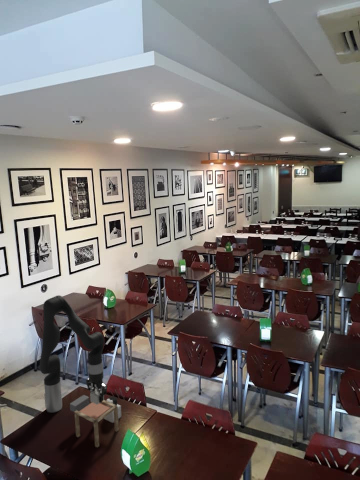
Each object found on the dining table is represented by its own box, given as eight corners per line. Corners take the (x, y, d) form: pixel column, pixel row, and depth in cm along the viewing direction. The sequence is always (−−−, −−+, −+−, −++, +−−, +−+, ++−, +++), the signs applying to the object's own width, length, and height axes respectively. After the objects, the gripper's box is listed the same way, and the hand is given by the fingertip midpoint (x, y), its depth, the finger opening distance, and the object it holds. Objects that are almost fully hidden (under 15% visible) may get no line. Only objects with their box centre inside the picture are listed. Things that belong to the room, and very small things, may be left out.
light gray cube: (90, 401, 192) (90, 392, 192) (97, 397, 196) (97, 388, 196) (97, 404, 190) (96, 395, 189) (104, 399, 194) (103, 391, 193)
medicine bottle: (112, 412, 215) (111, 393, 213) (121, 416, 211) (120, 397, 209) (103, 419, 209) (102, 399, 207) (112, 423, 205) (111, 403, 203)
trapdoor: (68, 411, 199) (68, 404, 198) (85, 400, 209) (85, 393, 208) (94, 423, 188) (94, 416, 187) (110, 411, 198) (110, 404, 197)
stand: (76, 436, 195) (74, 411, 193) (98, 420, 208) (96, 396, 206) (97, 447, 186) (95, 421, 184) (118, 430, 199) (117, 405, 197)
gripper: (80, 369, 191) (82, 399, 194) (100, 377, 183) (101, 408, 186) (91, 363, 197) (93, 392, 200) (110, 370, 190) (112, 400, 192)
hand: (97, 399), depth 193 cm, fingers closed on light gray cube, 5 cm apart
